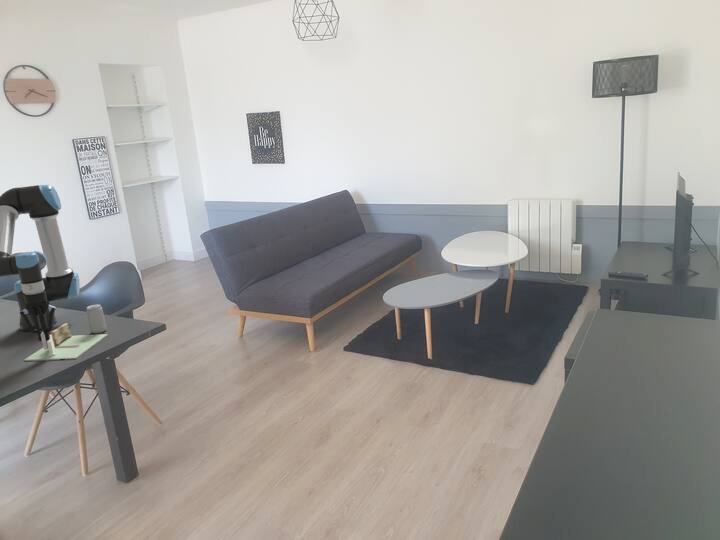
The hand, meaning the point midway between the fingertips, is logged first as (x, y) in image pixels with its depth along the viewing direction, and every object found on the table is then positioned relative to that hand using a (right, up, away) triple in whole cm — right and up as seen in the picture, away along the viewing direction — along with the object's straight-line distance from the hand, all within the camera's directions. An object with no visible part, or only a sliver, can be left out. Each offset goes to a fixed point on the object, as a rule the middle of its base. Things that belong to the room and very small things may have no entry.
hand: (46, 348), depth 223 cm
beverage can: (+10, +4, +24) cm, 26 cm away
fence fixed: (-1, 0, +13) cm, 14 cm away
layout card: (+4, -1, +8) cm, 9 cm away
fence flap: (+1, -2, +3) cm, 4 cm away
